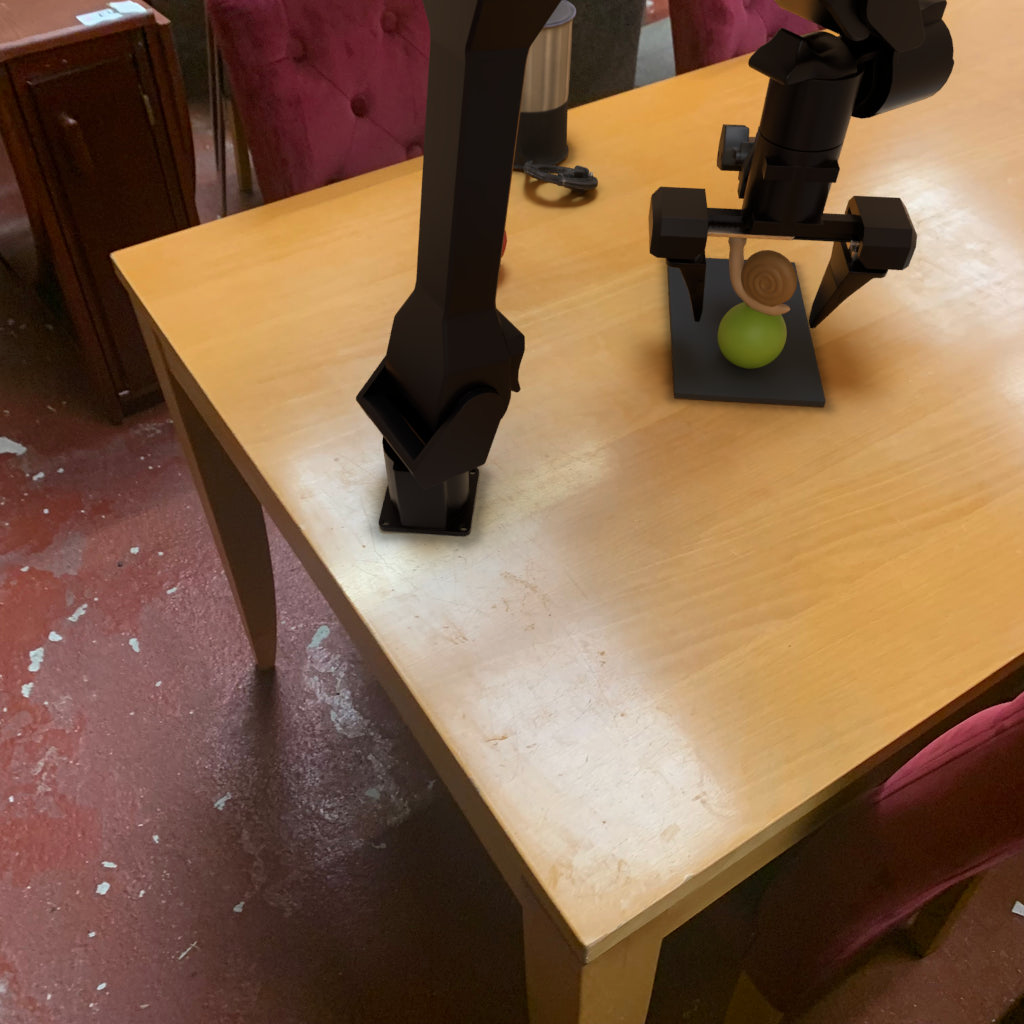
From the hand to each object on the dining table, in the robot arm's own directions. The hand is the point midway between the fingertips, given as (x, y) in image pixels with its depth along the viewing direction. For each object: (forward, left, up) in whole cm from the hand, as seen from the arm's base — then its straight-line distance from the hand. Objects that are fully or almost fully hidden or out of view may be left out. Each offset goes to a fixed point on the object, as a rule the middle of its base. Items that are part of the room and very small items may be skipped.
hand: (753, 321), depth 72 cm
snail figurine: (0, 0, -4) cm, 4 cm away
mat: (+5, 0, -4) cm, 7 cm away
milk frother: (+32, +19, -4) cm, 37 cm away
